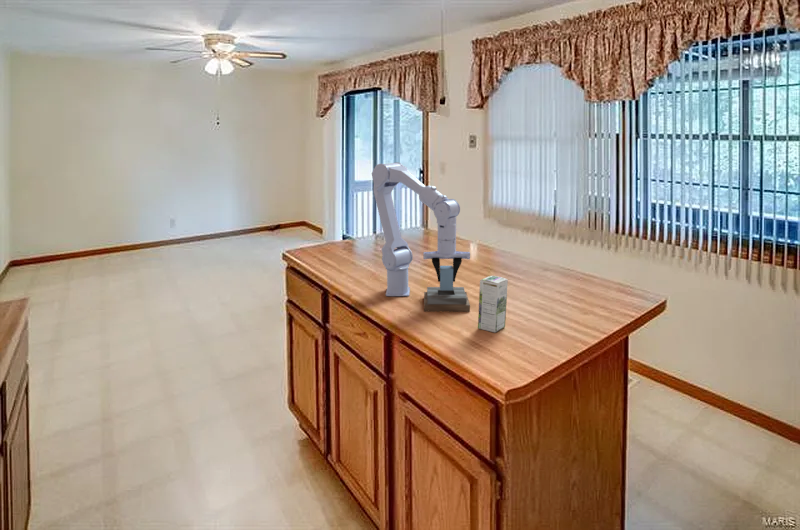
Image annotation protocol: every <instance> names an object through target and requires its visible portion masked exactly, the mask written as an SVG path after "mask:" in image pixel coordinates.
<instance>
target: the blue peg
mask: <svg viewBox="0 0 800 530" xmlns="http://www.w3.org/2000/svg"><path fill="white" fill-rule="evenodd" d="M439 287H440V290H453V287H454V282H453V265H440V282H439Z"/></svg>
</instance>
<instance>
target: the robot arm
mask: <svg viewBox="0 0 800 530" xmlns="http://www.w3.org/2000/svg"><path fill="white" fill-rule="evenodd" d="M371 176H372V180H373V195H374V198H375V199H374V200H375V204H376V207H377V210H378V211H377V212H378V216H379V220H380V224H381V227H382V232H383V236H384V240H385V242H384V244H383V246H382V247H381V253H382V258H381V261H382V264H383V266H384V267H385V270H386V280H387V281H386V283H387V284H386V286H387V287H386V292H385V296H386V297H409V296H410V292H411V291H410V290H411V287H410V286H409V267H410V264H411V263H412V261H413V258H414V257H413V252H412V250H411V249H410V246H409V244H408V241H406V240H405V239H403V238H402V235H401V230H400V227H399V221H398V218H397V214H396V213H397V212H396V209H395V205H394V201H393V197H392V192H393V190H394V189H395V187H396V186H397V185H399V183H401V184H403V185H404V186H405V187H406V188H408V189H410V191H413V192H414V193H416V194H417V195H418V198H419V201H420V202H422V203H423V204H424V205H425V206H427V207H428V208H430V210H432V211H433V214H434V217H435V218H436V224H437V250H436V251H435V250H433V251H423V260H431V263H432V265H433V268H434V270H435V273H436V277H437V282H438V283H440V266H441V260H449V259H450V260H452V266H453V283H455V282H456V278H457V273H458V272H459V269H460V267H461V264H462V262H463V260H470V259H471V252H470V251H457V217H458V216H459V214H460V212H461V206H460V204H459V202H458V201H457V200H456V199H454V198H448V196H447V195H446V194H445V195H444V194H443V193H441V192H440V191H438V190H437V187H436V186H435V185H425V184H424V183H422V181H420V180H419V179H418V178H417V177H416V176H415V175H413V174H412V173H411V172H410V170H408V167H407V166H405V165H403V163H401V162H398V161H396V162H392V163H378V164H376V165H375V166H374V167H373V170H372V172H371Z"/></svg>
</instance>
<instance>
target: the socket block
mask: <svg viewBox="0 0 800 530" xmlns="http://www.w3.org/2000/svg"><path fill="white" fill-rule="evenodd" d="M423 301H424V302H423V307H424V311H423V312H426V313H427V312H428V313H430V312H431V313H432V312H435V311H437V312H439V311H442V312H444V311H449V313H450V312H451V311H453V313H454V312H455V313H457V312H461V313H462V312H463V313H465V312H469V313H470V312H471V309H470V308H471V304H470V301H469V297H468V292H467V291H466V290H465V288H464V286H453V290H440V286H427V287H426V291H424V292H423ZM435 313H436V312H435ZM451 313H452V312H451Z"/></svg>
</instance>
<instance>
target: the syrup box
mask: <svg viewBox="0 0 800 530" xmlns="http://www.w3.org/2000/svg"><path fill="white" fill-rule="evenodd" d="M508 281H509V279H507V278H505V277H502V276H497V275H489V276H486V277H485V278H482V279H480V281H479V292H478V293H479V296H478V298H479V299H478V320H477V328H478V329H479V330H484V331H487V332H492V333H498V332H499V331H501V330H502V329H504V328H505V327H506V319H507V317H506V316H507V301H508V300H507V299H508V286H509V285H508Z"/></svg>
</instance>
